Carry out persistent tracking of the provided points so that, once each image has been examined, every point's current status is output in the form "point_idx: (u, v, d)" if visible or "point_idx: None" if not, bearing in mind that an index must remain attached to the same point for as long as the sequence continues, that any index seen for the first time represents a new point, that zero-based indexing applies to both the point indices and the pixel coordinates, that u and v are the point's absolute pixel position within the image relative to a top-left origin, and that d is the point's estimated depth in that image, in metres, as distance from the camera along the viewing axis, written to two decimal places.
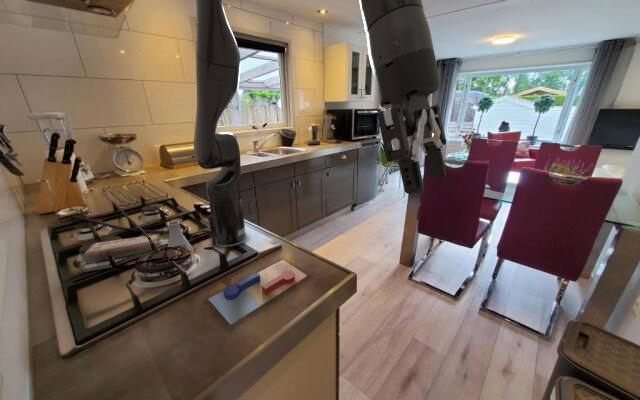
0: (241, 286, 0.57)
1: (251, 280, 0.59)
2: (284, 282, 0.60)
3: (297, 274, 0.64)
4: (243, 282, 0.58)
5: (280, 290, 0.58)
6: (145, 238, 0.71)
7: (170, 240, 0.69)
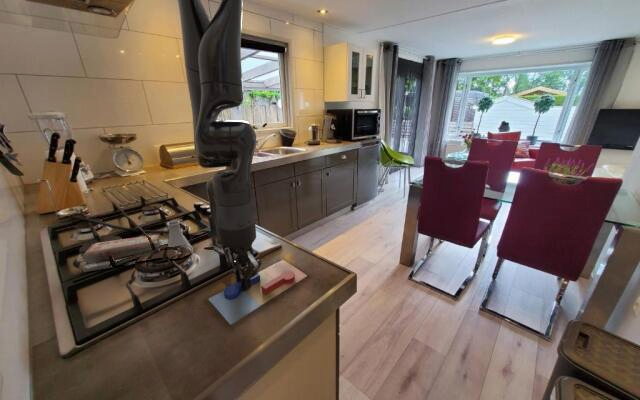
0: None
1: (251, 280, 0.59)
2: (284, 282, 0.60)
3: (297, 274, 0.64)
4: None
5: (280, 290, 0.58)
6: (145, 238, 0.71)
7: (170, 240, 0.69)
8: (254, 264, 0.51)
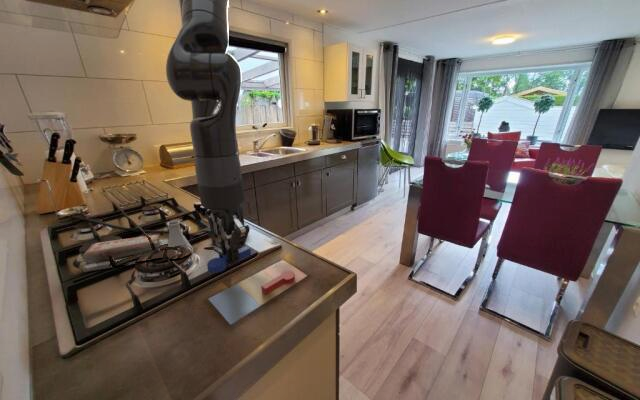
0: None
1: (240, 253, 0.51)
2: (284, 282, 0.60)
3: (297, 274, 0.64)
4: None
5: (280, 290, 0.58)
6: (145, 238, 0.71)
7: (170, 240, 0.69)
8: (241, 229, 0.44)
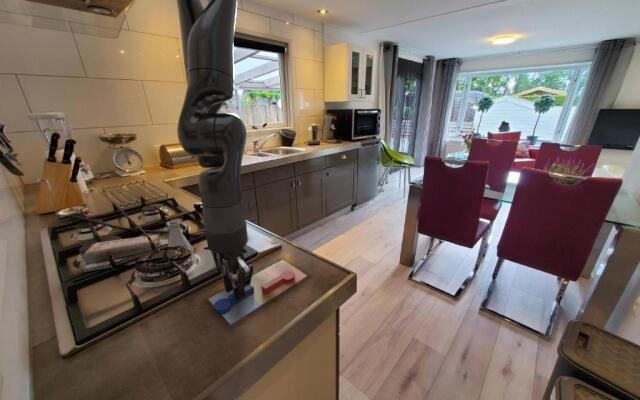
0: (233, 300, 0.53)
1: None
2: (284, 282, 0.60)
3: (297, 274, 0.64)
4: None
5: (280, 290, 0.58)
6: (145, 238, 0.71)
7: (170, 240, 0.69)
8: (245, 269, 0.46)
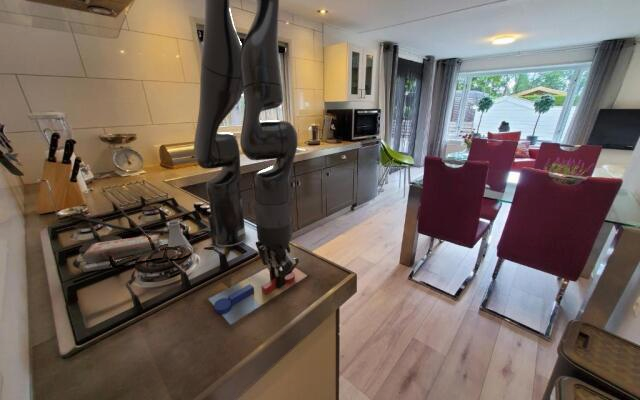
0: (233, 300, 0.53)
1: (244, 293, 0.55)
2: None
3: (297, 274, 0.64)
4: (235, 295, 0.54)
5: (280, 290, 0.58)
6: (145, 238, 0.71)
7: (170, 240, 0.69)
8: (292, 262, 0.52)
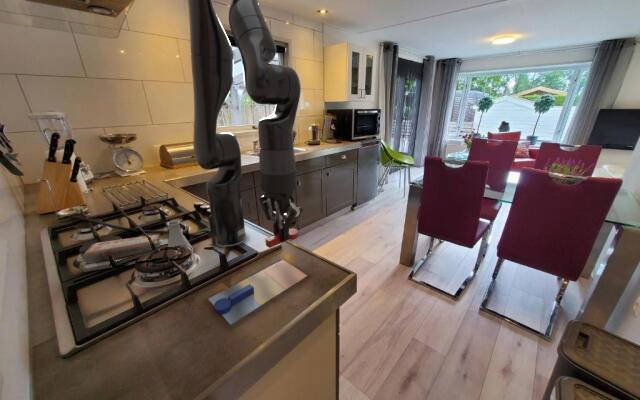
0: (233, 300, 0.53)
1: (244, 293, 0.55)
2: None
3: (297, 274, 0.64)
4: (235, 295, 0.54)
5: (280, 290, 0.58)
6: (145, 238, 0.71)
7: (170, 240, 0.69)
8: (296, 210, 0.53)
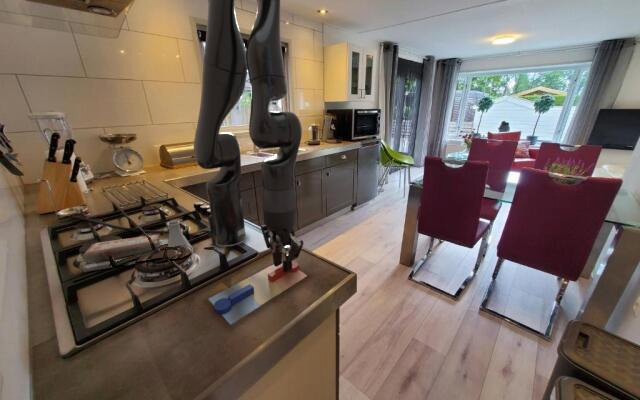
0: (233, 300, 0.53)
1: (244, 293, 0.55)
2: (289, 271, 0.64)
3: (297, 274, 0.64)
4: (235, 295, 0.54)
5: (280, 290, 0.58)
6: (145, 238, 0.71)
7: (170, 240, 0.69)
8: (297, 243, 0.55)
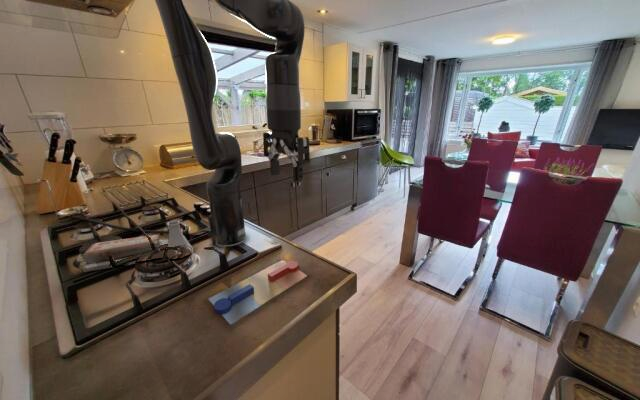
0: (233, 300, 0.53)
1: (244, 293, 0.55)
2: (289, 271, 0.64)
3: (297, 274, 0.64)
4: (235, 295, 0.54)
5: (280, 290, 0.58)
6: (145, 238, 0.71)
7: (170, 240, 0.69)
8: (302, 137, 0.53)
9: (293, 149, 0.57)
